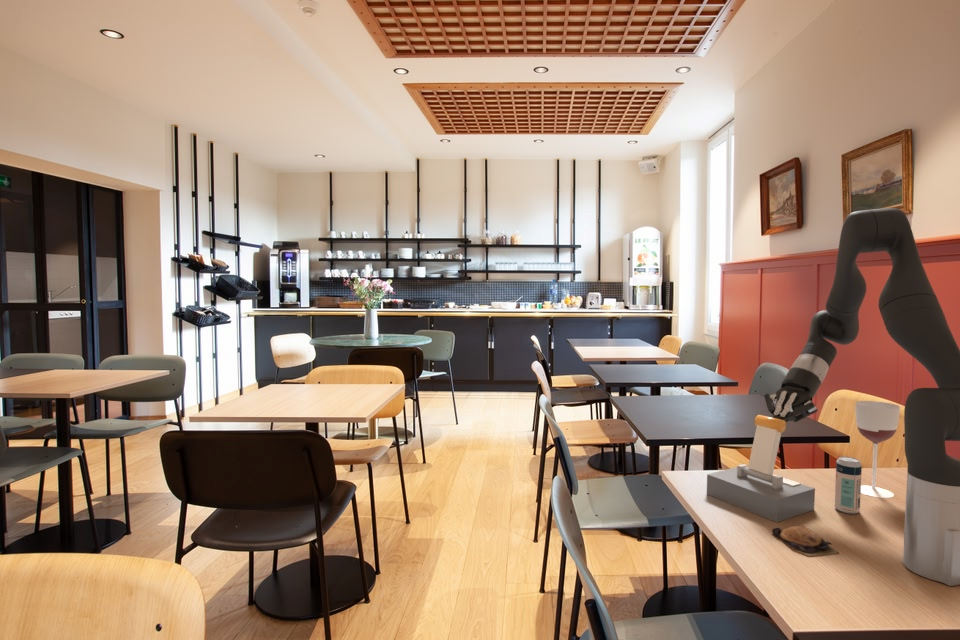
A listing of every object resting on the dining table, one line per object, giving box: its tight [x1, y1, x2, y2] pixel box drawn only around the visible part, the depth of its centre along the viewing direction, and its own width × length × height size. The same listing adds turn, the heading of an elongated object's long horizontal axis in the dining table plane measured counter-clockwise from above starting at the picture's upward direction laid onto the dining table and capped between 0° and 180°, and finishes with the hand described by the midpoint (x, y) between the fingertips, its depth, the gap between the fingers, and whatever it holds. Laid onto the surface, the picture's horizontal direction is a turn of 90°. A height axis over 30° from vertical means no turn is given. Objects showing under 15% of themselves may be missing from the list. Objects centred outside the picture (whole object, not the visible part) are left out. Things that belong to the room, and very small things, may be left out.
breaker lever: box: [744, 414, 787, 483], centre depth 127 cm, size 3×7×15 cm, turn 28°
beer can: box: [834, 456, 863, 515], centre depth 122 cm, size 5×5×12 cm
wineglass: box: [854, 400, 901, 499], centre depth 133 cm, size 9×10×22 cm
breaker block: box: [706, 463, 816, 523], centre depth 127 cm, size 14×18×8 cm
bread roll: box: [771, 525, 840, 558], centre depth 107 cm, size 11×8×4 cm
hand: (773, 431), depth 129 cm, fingers closed
